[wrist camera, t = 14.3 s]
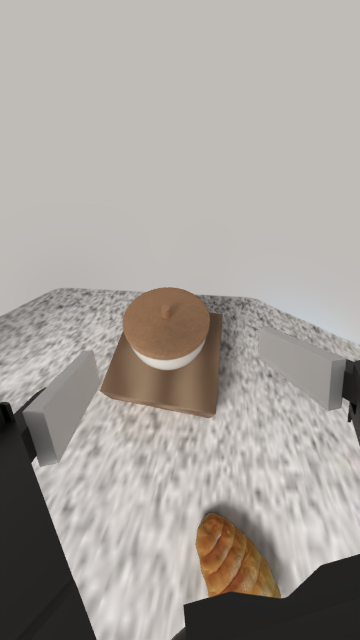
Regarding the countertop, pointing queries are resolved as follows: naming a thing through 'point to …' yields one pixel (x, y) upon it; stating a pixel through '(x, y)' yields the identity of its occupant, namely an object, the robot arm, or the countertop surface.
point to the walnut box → (168, 378)
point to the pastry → (232, 560)
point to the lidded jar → (166, 327)
